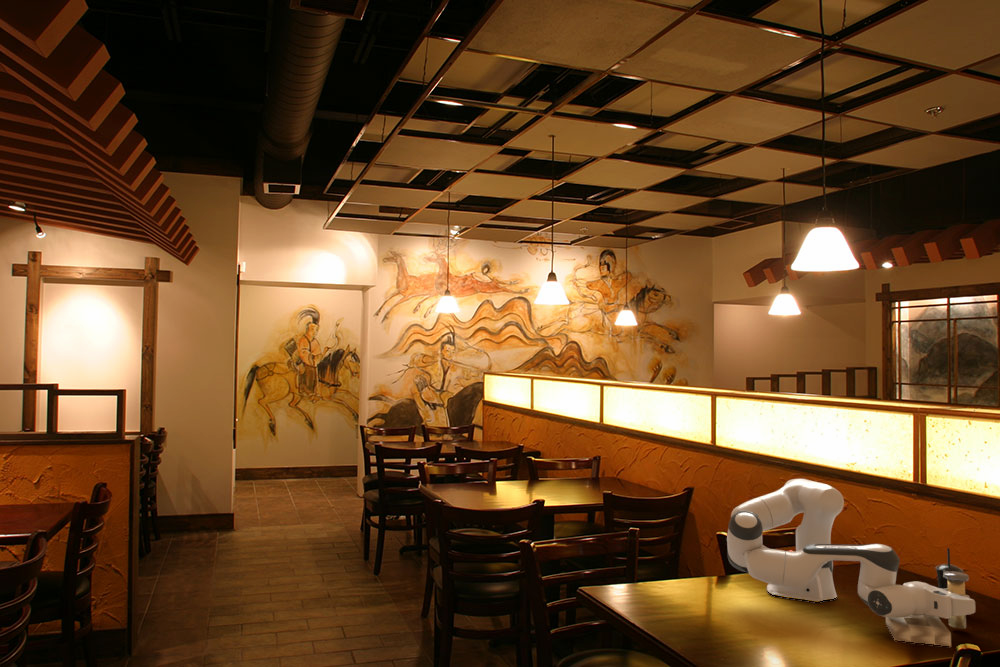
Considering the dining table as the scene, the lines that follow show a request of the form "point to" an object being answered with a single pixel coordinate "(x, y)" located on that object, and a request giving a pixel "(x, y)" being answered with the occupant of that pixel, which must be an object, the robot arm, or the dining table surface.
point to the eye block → (919, 630)
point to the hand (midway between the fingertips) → (958, 594)
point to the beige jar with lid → (958, 587)
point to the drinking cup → (945, 567)
